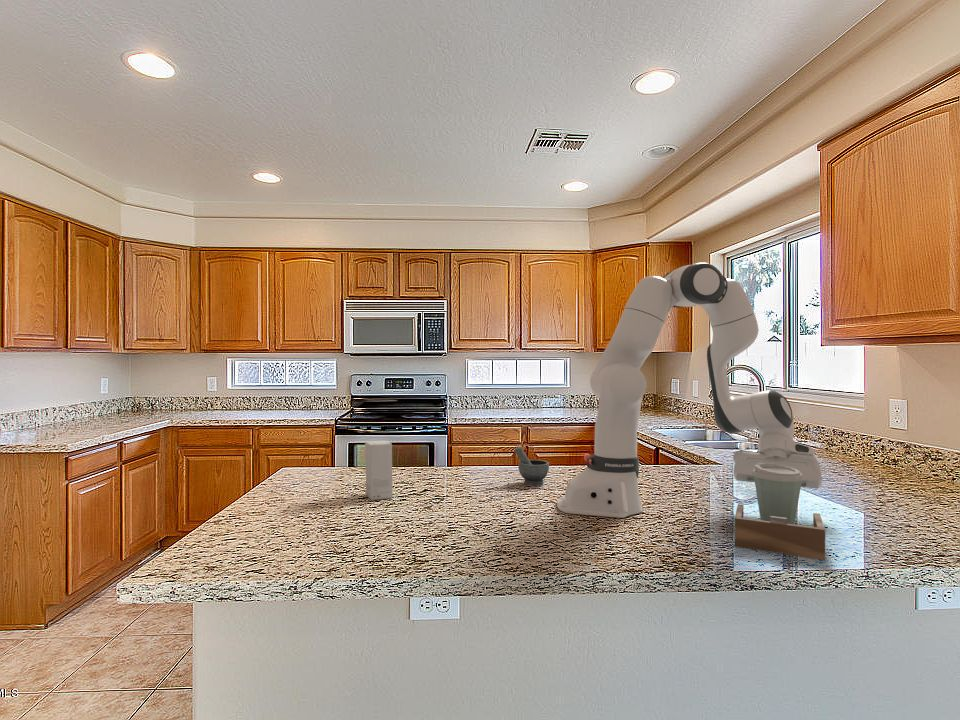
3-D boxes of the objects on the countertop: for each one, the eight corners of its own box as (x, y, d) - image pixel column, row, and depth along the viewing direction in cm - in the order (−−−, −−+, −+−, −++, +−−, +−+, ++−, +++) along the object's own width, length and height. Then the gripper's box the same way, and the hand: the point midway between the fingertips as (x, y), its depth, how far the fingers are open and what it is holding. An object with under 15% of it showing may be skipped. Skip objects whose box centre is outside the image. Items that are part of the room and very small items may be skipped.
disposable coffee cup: (809, 530, 128) (809, 466, 128) (794, 541, 121) (795, 473, 121) (761, 520, 136) (761, 460, 136) (744, 530, 128) (745, 466, 128)
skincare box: (392, 498, 154) (393, 443, 154) (369, 501, 152) (369, 444, 151) (386, 492, 162) (387, 439, 162) (364, 494, 159) (364, 440, 159)
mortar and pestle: (546, 480, 179) (547, 444, 179) (551, 487, 169) (552, 448, 169) (512, 480, 178) (512, 444, 178) (515, 487, 169) (515, 448, 169)
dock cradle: (737, 529, 128) (737, 498, 128) (819, 540, 121) (819, 508, 121) (734, 546, 117) (734, 512, 117) (824, 559, 109) (825, 524, 109)
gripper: (733, 442, 150) (730, 485, 141) (820, 448, 140) (823, 494, 132) (734, 456, 154) (731, 498, 145) (819, 463, 144) (822, 508, 136)
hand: (776, 496), depth 138 cm, fingers closed
